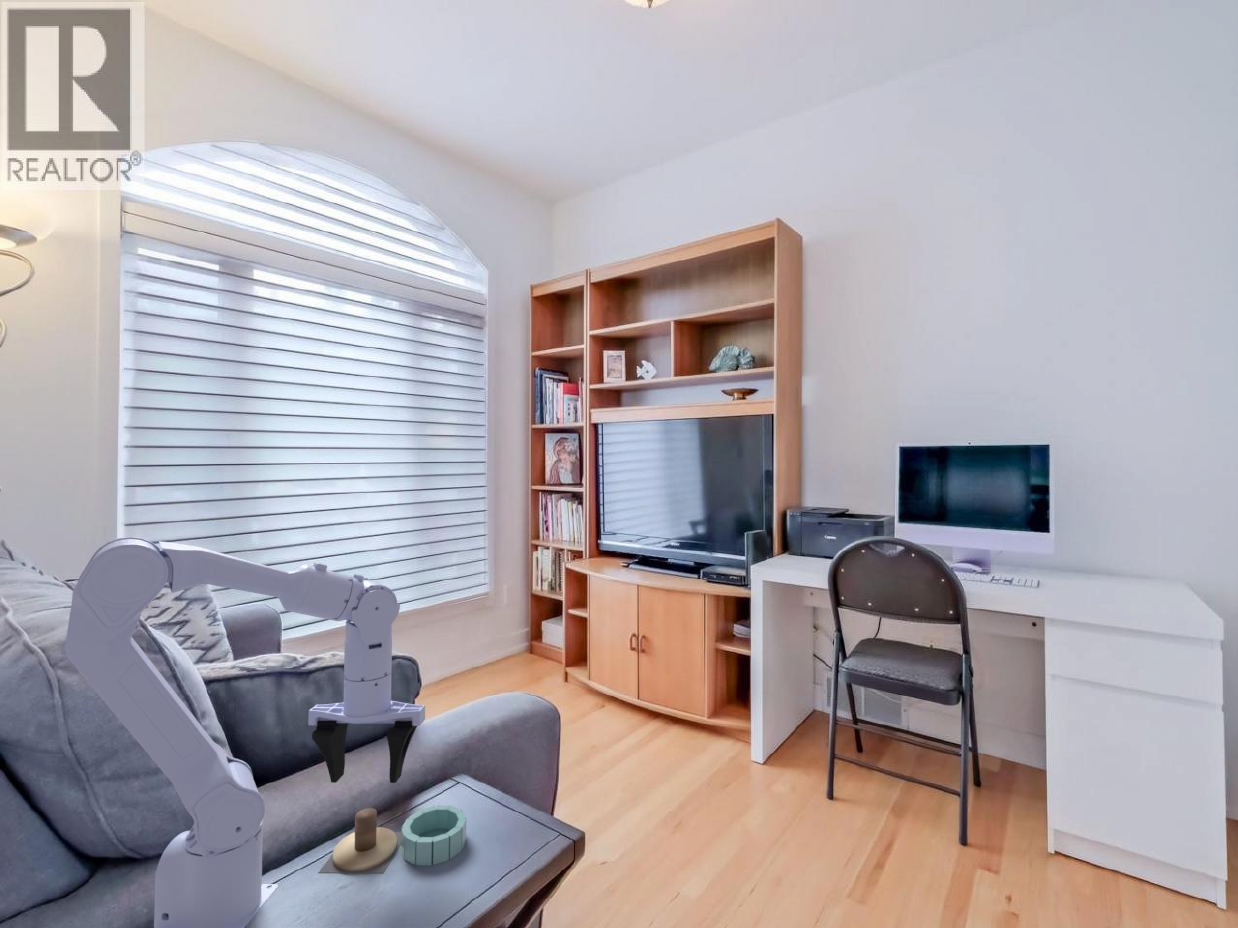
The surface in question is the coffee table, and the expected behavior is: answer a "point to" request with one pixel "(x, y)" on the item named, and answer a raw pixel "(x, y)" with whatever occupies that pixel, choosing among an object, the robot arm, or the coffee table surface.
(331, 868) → the mat
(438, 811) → the bowl
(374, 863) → the lid
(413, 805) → the coffee table surface
